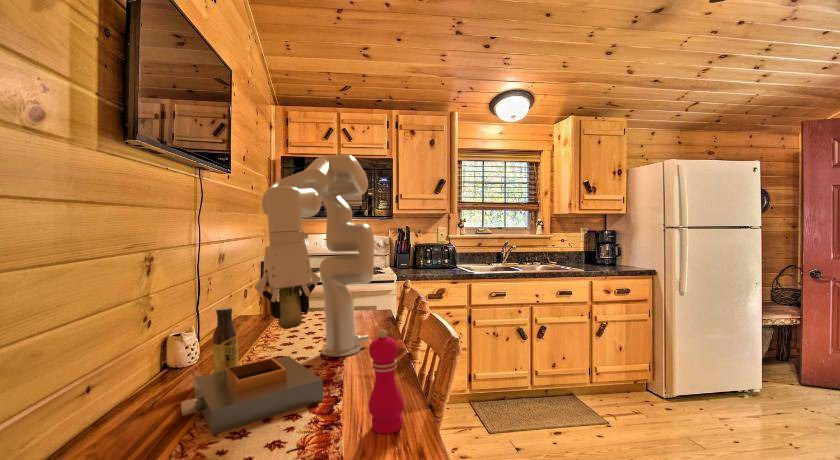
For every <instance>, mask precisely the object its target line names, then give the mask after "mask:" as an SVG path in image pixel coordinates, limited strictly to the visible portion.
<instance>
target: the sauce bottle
mask: <svg viewBox="0 0 840 460" xmlns="http://www.w3.org/2000/svg"><path fill="white" fill-rule="evenodd" d="M215 311H216V317H217V322H216V324H217V326H216V328H215V330H214V332H213V334H212V335H213V336H212V337H213V339H212V340H213V342H212V352H213V353H212V354H213V359H212V360H213V373H217V372H221V371H225V370H226V368H230V367H234V366H238V365H239V348H238V347H239V345H238V344H239V343H238V342H239V341H238V334H237V332H236V330H235V327H234V324H233V317H232V316H233V308H232V307H227V306H226V307H221V308H217V309H216V310H215Z"/></svg>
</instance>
